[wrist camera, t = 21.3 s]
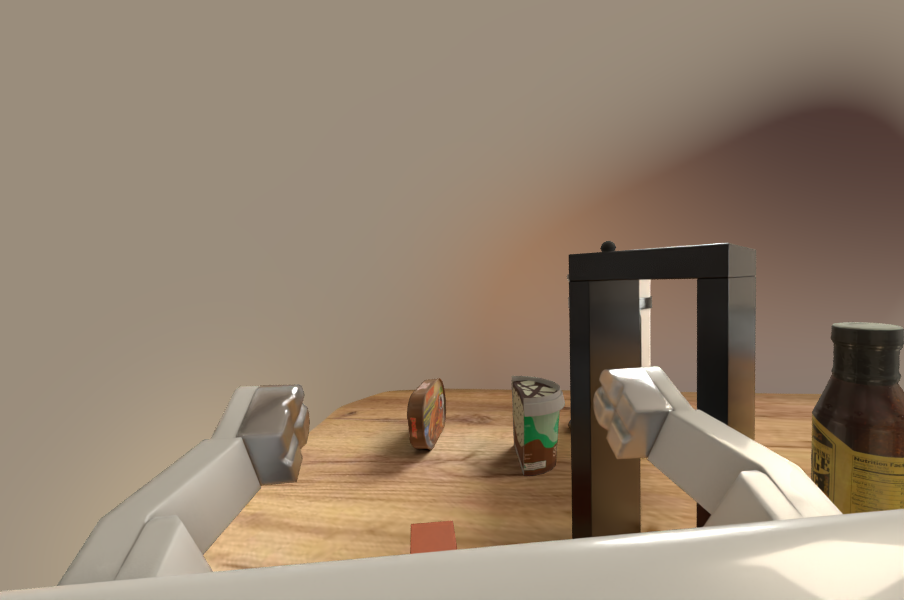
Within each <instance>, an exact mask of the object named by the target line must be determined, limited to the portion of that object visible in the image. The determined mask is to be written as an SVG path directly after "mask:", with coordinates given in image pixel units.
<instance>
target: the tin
mask: <svg viewBox="0 0 904 600" xmlns="http://www.w3.org/2000/svg"><path fill="white" fill-rule="evenodd" d="M407 419H408V426H409V435H410V443H411V445H412V447H413V448H416V449H433V447H434V445H435V443H436V442H437V440H438V438H439V436H440V434H441V432H442V430H443V428H444V425H445V419H446V398H445V390H444V385H443V382H442V380H441V379H440V378H438V379H428V380H425V381H424V382H422V384H421V385H420V386H419V387H418V388H417V389H416V390H415V391H414V392H413V393H412V394H411V396H410V399H409V402H408V409H407Z"/></svg>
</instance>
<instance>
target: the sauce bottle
mask: <svg viewBox="0 0 904 600" xmlns="http://www.w3.org/2000/svg"><path fill="white" fill-rule="evenodd" d="M831 340H832V341H833V343H834V352H833V353H834V360H833V368H832V375H831V377H830V379H829V381H828V384H827V386H826V388H825V390H824V391H823V393H822V395H821V397H820V398H819V400H818V402H817V404H816V406H815V407H814V409H813V411H812V454H811V480H812V481H813V482H814V483H815V484H816V486H817V487H818V488H819V489H820V490H821V491H822V492H823V493H824V494H825V495H826V496H827V497H828V498H829V500H830V501H831V502H832V503H833V504H834V505H835V506H836V507H837V508H838V509H839V510H840V511H841V512H842V514H851V513H862V512H873V511H884V510H895V509H904V392H903V390H902V388H901V387H900V386H899V384H898V382H899V381H900V378H901V374H900V373H899V355H900V350H901V349H902V348H903V344H904V329H903V328H902V327H900V326H897V325H890V324H879V323H861V322H858V323H857V322H856V323H855V322H848V323H836V324H833V325H832V332H831Z"/></svg>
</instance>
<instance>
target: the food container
mask: <svg viewBox="0 0 904 600" xmlns="http://www.w3.org/2000/svg"><path fill="white" fill-rule="evenodd" d="M512 401H513V433H514V447H515V450H516V453H517V456H518V459H519V462H520V466H521V469H522V472H523V475H524V476H534V475H538V474H543V473H546V472H548V471H550V470H552V469H553V468H554V466H555V465H556V457H557V441H558V425H559V410H561V409H562V408H563V407H564V405H565V401H564V397H563V393H562V391H561V390H560V386H559V385H558V384H556V383H555V382H553V381H550V380H546V379H542V378H536V377H528V376H527V377H526V376H512Z"/></svg>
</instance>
